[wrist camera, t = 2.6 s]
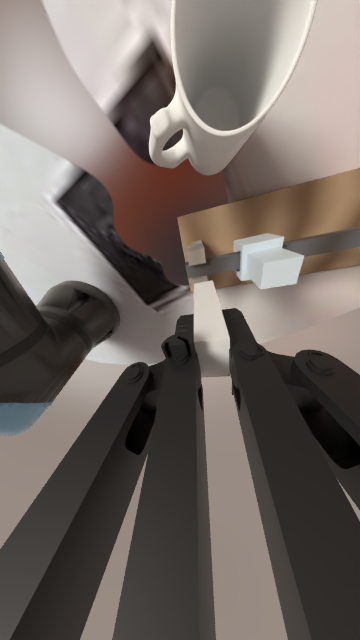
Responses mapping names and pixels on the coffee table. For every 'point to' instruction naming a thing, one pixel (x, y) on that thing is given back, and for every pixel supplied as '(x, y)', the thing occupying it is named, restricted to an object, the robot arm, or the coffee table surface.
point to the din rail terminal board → (277, 228)
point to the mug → (226, 75)
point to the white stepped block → (267, 261)
